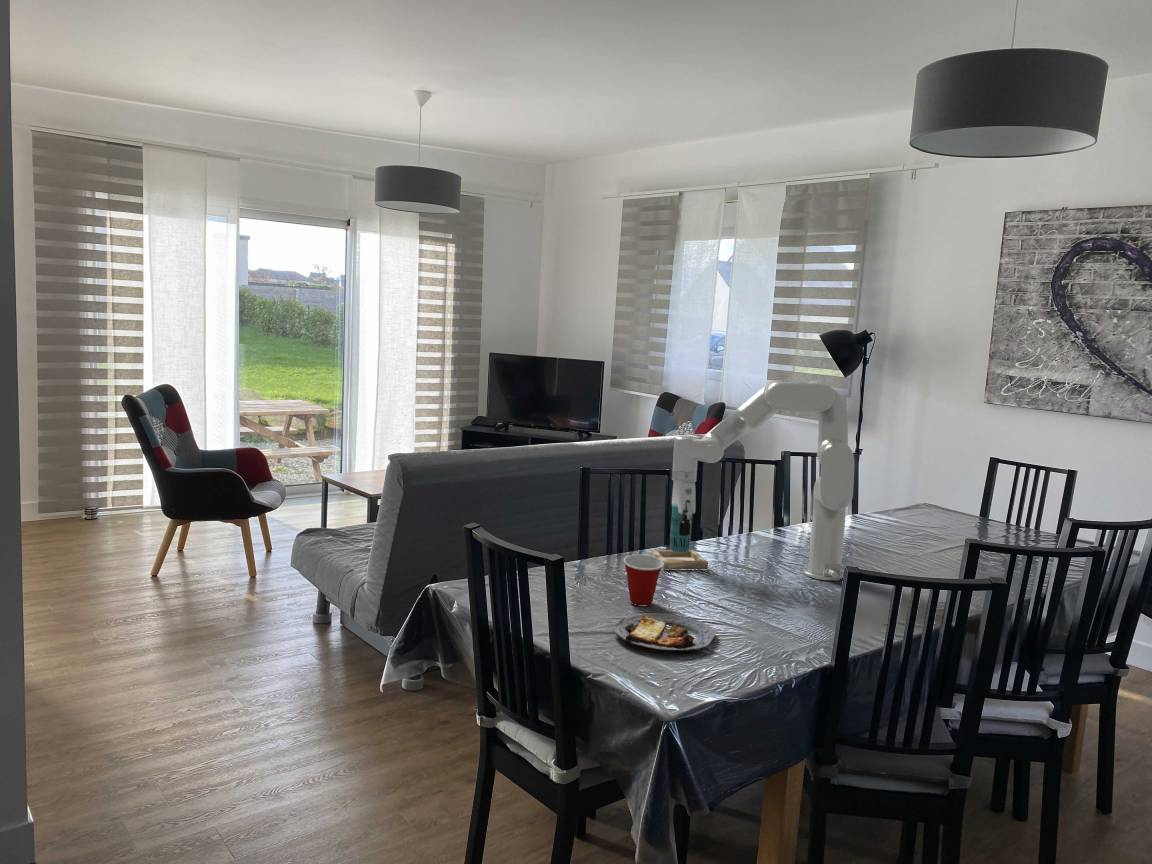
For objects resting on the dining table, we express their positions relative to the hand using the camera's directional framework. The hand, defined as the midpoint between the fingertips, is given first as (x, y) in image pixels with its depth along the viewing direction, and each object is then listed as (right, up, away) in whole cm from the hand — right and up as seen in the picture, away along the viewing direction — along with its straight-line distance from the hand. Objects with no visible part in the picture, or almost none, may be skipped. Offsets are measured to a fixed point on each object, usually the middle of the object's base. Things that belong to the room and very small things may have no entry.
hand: (680, 531), depth 277 cm
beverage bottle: (0, -7, +1) cm, 7 cm away
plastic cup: (-15, -15, -38) cm, 43 cm away
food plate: (-11, -19, -62) cm, 66 cm away
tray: (0, -10, +1) cm, 10 cm away
